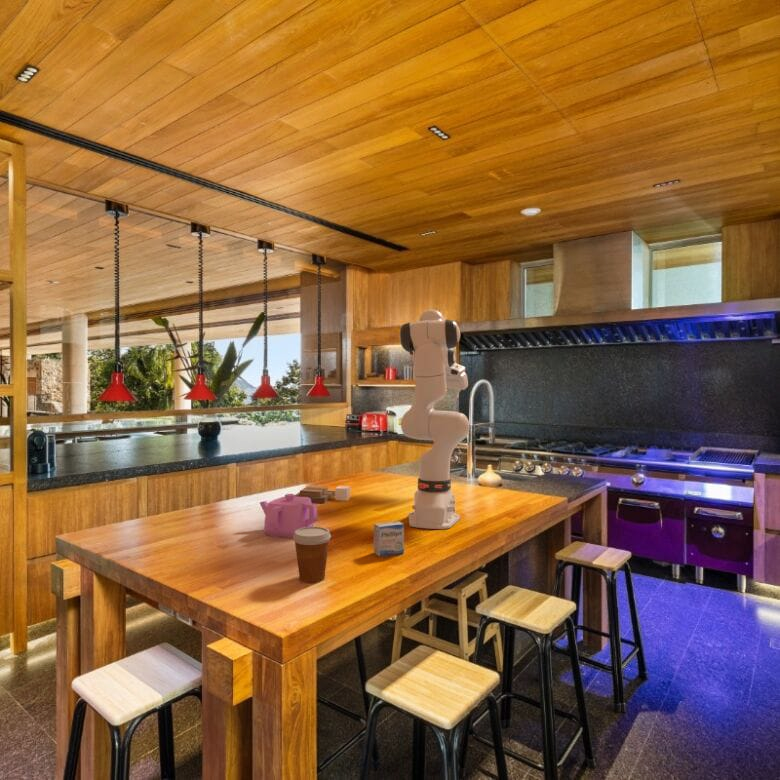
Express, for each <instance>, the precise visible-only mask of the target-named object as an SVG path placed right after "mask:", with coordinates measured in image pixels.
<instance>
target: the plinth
mask: <svg viewBox="0 0 780 780" xmlns="http://www.w3.org/2000/svg"><path fill="white" fill-rule="evenodd" d="M294 495H295V497H308V498H310V499H311V503H312V504H325V503H327V502H328V501H330V500H331V499H333V498H334V497H335V490H329V489H328V487H327V486H326V487H325V486H306V487H304V488H302V489H300V490H299V492H298V493H296V494H294Z"/></svg>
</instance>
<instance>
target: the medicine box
mask: <svg viewBox="0 0 780 780" xmlns="http://www.w3.org/2000/svg"><path fill="white" fill-rule="evenodd" d="M373 553H374V554H375V555H377V556H378V557H379V558H383V557H382V556H384V557H390V556H396V554H397V555H402V554H404V553H405V525H404V523H403V522H402V521H399V520H397V521H388V522H378V523H377V522H376V523H374V524H373ZM389 555H390V556H389Z"/></svg>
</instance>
